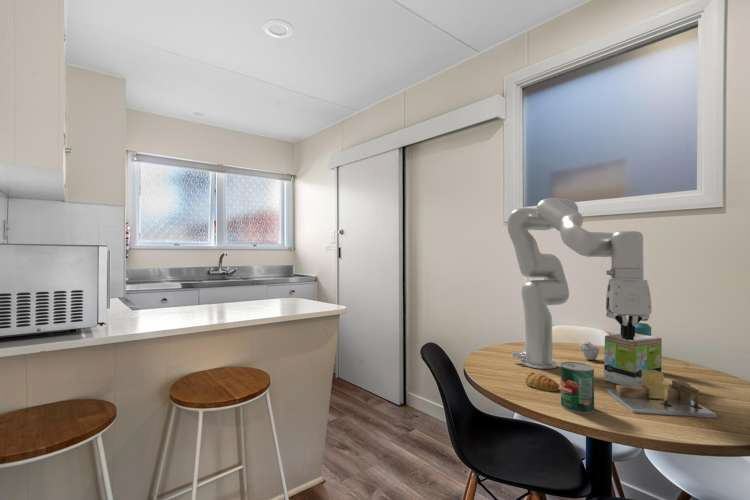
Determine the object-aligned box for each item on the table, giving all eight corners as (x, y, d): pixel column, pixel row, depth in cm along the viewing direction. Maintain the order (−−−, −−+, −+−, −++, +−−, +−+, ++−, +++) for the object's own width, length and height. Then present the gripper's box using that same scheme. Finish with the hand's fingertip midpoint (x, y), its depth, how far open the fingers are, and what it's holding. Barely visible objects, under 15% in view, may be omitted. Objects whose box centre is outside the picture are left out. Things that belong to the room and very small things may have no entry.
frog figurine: (578, 357, 150) (578, 339, 150) (598, 358, 147) (597, 341, 147) (581, 360, 144) (580, 342, 144) (601, 362, 141) (601, 344, 142)
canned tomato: (600, 409, 97) (600, 367, 97) (584, 416, 92) (584, 372, 93) (570, 399, 103) (570, 360, 104) (554, 405, 99) (554, 364, 99)
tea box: (636, 390, 111) (636, 341, 112) (603, 380, 120) (602, 335, 121) (662, 382, 118) (662, 336, 119) (629, 374, 127) (628, 331, 128)
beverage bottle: (645, 367, 135) (644, 312, 136) (657, 372, 129) (656, 315, 129) (626, 366, 136) (625, 312, 137) (637, 372, 130) (636, 315, 130)
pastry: (563, 389, 112) (563, 377, 112) (552, 394, 108) (552, 381, 108) (534, 381, 119) (534, 369, 120) (522, 386, 115) (522, 373, 115)
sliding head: (659, 404, 97) (658, 378, 97) (641, 393, 105) (641, 369, 105) (674, 405, 96) (674, 379, 97) (655, 393, 105) (655, 370, 105)
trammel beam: (629, 403, 98) (629, 386, 98) (614, 392, 106) (614, 377, 107) (702, 408, 95) (702, 390, 96) (681, 396, 104) (681, 380, 104)
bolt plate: (632, 412, 95) (632, 408, 95) (607, 393, 109) (607, 389, 109) (716, 418, 92) (716, 413, 92) (679, 397, 106) (679, 393, 106)
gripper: (604, 274, 102) (605, 341, 102) (664, 275, 100) (665, 343, 100) (593, 273, 110) (593, 335, 109) (648, 274, 107) (649, 337, 107)
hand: (627, 339), depth 105 cm, fingers closed
